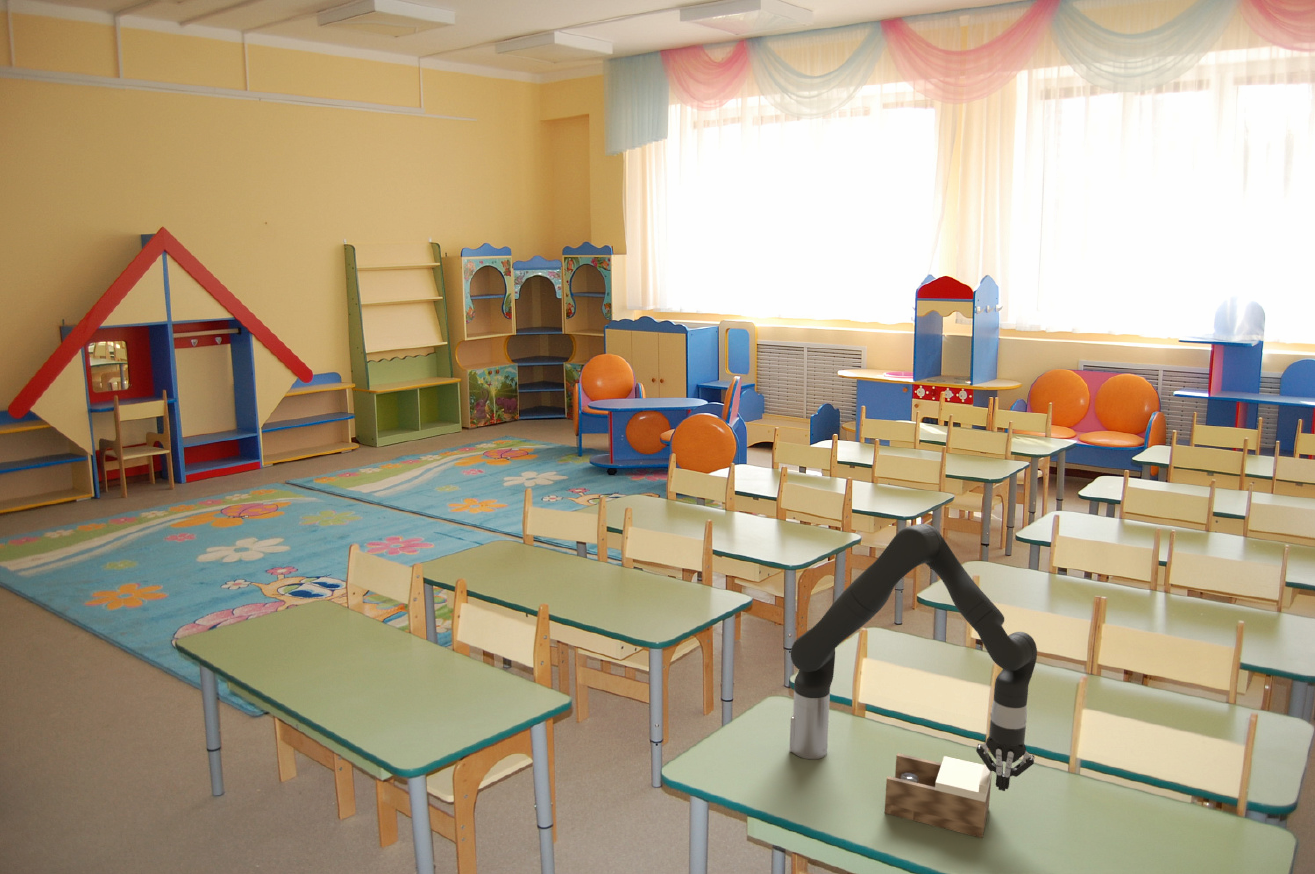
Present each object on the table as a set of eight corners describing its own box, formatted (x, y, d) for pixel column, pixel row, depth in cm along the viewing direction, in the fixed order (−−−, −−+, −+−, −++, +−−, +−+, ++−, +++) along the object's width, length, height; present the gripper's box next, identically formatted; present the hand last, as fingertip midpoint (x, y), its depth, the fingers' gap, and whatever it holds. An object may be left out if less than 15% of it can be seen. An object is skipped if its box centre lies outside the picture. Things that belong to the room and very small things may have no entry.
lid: (934, 790, 219) (936, 774, 218) (943, 763, 230) (944, 748, 229) (985, 802, 214) (986, 786, 213) (991, 774, 225) (993, 759, 224)
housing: (884, 813, 225) (886, 778, 223) (895, 786, 236) (897, 753, 234) (982, 837, 216) (985, 802, 214) (988, 808, 227) (991, 774, 225)
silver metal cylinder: (901, 797, 232) (902, 771, 230) (917, 801, 230) (919, 775, 228) (897, 806, 228) (899, 779, 227) (914, 810, 226) (916, 783, 225)
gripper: (1041, 718, 215) (1034, 787, 219) (979, 705, 221) (973, 773, 225) (1038, 733, 209) (1031, 804, 212) (975, 720, 214) (969, 790, 218)
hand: (1001, 788), depth 219 cm, fingers closed
